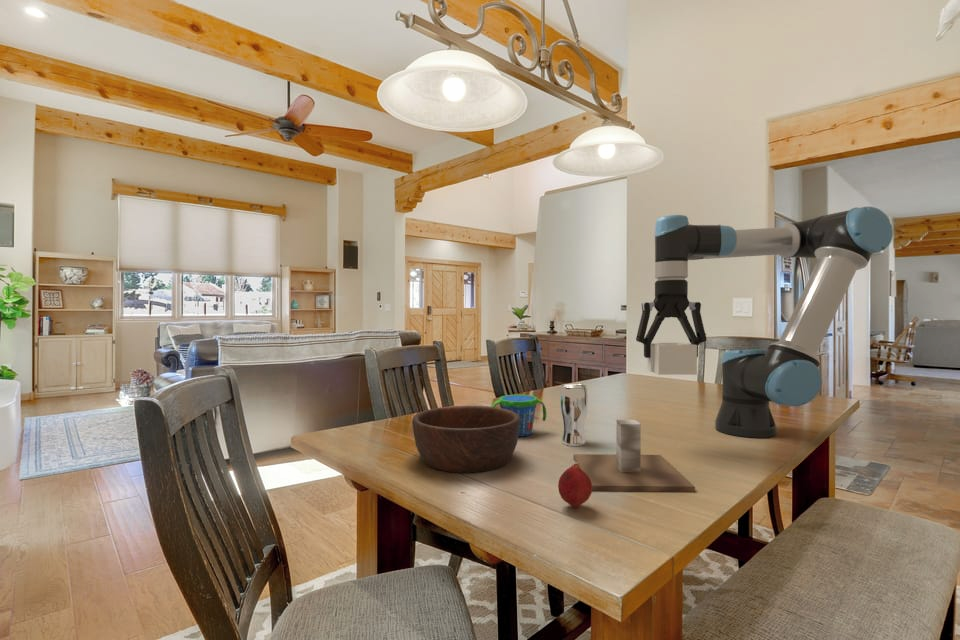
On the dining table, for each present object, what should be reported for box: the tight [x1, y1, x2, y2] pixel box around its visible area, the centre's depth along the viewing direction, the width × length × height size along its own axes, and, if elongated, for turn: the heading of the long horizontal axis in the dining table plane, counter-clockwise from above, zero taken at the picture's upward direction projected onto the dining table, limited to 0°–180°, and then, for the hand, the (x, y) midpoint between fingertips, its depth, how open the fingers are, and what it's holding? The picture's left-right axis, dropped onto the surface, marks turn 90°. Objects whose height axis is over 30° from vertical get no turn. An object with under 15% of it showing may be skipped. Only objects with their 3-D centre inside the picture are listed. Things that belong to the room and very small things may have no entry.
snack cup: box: [491, 394, 547, 437], centre depth 136 cm, size 16×10×10 cm
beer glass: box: [559, 383, 588, 447], centre depth 127 cm, size 7×7×15 cm
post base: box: [573, 419, 696, 493], centre depth 104 cm, size 20×20×11 cm
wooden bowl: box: [411, 405, 520, 474], centre depth 114 cm, size 25×25×10 cm
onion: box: [557, 461, 593, 509], centre depth 86 cm, size 6×6×8 cm
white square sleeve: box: [646, 341, 698, 376], centre depth 120 cm, size 9×9×7 cm
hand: (670, 371), depth 121 cm, fingers closed on white square sleeve, 9 cm apart
